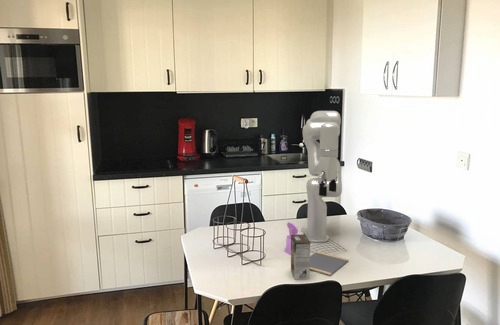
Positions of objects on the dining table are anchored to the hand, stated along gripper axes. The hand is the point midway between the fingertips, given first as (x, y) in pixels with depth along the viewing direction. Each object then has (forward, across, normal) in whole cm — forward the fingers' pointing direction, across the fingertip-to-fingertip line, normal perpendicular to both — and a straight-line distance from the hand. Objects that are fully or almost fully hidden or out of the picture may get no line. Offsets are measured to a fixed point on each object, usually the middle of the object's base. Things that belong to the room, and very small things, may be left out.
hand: (327, 193), depth 180 cm
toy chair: (+32, -7, -19) cm, 38 cm away
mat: (+32, -2, -2) cm, 33 cm away
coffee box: (+33, +13, -6) cm, 36 cm away
